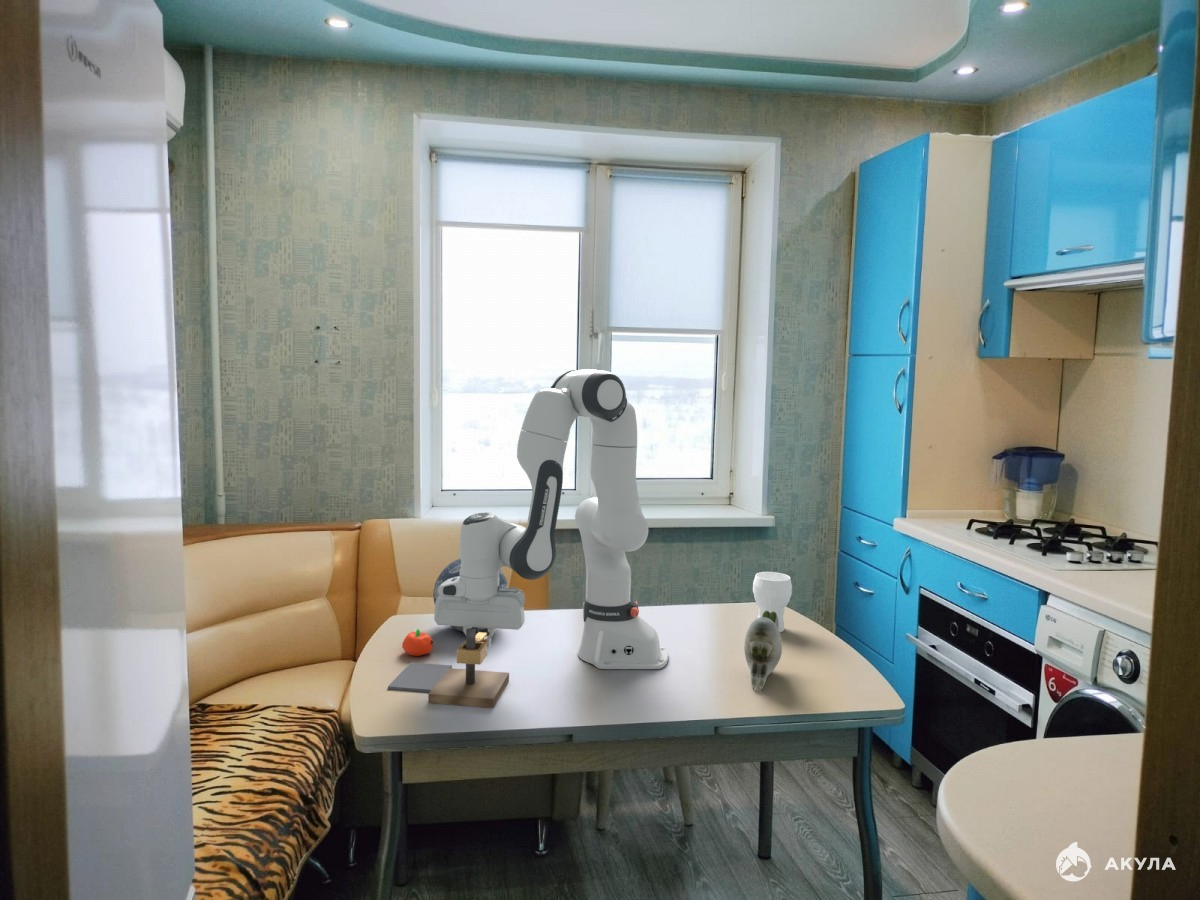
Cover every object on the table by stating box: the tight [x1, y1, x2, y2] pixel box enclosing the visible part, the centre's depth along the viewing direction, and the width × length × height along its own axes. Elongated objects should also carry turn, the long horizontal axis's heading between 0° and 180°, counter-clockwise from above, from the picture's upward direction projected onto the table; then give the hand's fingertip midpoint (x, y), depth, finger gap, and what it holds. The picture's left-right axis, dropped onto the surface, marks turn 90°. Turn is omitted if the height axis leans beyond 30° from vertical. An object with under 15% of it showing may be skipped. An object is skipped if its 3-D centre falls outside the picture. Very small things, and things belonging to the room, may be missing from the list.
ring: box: [456, 631, 488, 665], centre depth 171 cm, size 5×11×3 cm, turn 173°
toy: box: [743, 611, 783, 692], centre depth 182 cm, size 8×15×20 cm
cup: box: [752, 571, 793, 633], centre depth 215 cm, size 11×11×15 cm
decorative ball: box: [433, 557, 509, 633], centre depth 206 cm, size 20×20×20 cm
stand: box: [428, 628, 510, 709], centre depth 168 cm, size 14×14×14 cm
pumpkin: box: [401, 628, 434, 657], centre depth 189 cm, size 7×8×6 cm
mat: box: [387, 661, 453, 693], centre depth 175 cm, size 10×14×1 cm
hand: (479, 645), depth 174 cm, fingers closed on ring, 2 cm apart
